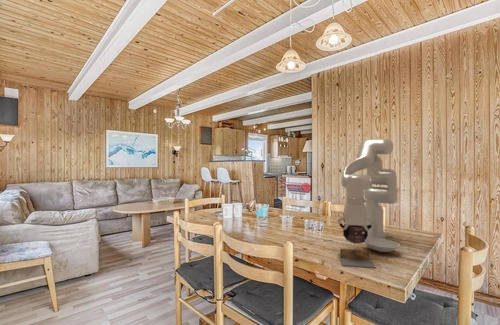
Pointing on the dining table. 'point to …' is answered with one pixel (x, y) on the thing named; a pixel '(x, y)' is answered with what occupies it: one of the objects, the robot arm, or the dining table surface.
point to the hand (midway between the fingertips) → (355, 237)
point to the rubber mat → (356, 262)
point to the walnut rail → (354, 254)
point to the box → (356, 234)
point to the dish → (381, 244)
